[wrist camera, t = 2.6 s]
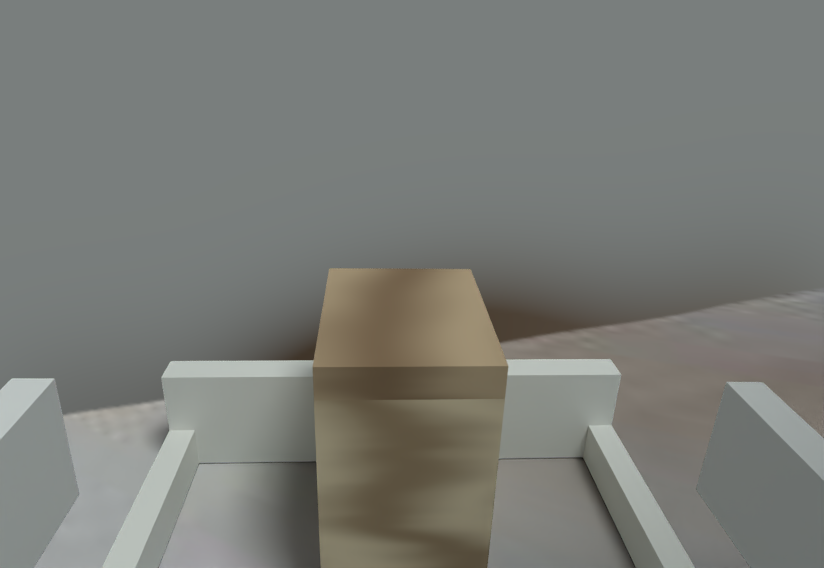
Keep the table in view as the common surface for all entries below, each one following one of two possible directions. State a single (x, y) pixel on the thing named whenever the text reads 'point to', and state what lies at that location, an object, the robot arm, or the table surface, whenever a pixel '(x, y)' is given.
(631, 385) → the table surface
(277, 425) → the bay
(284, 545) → the table surface
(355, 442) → the tan cardboard box
